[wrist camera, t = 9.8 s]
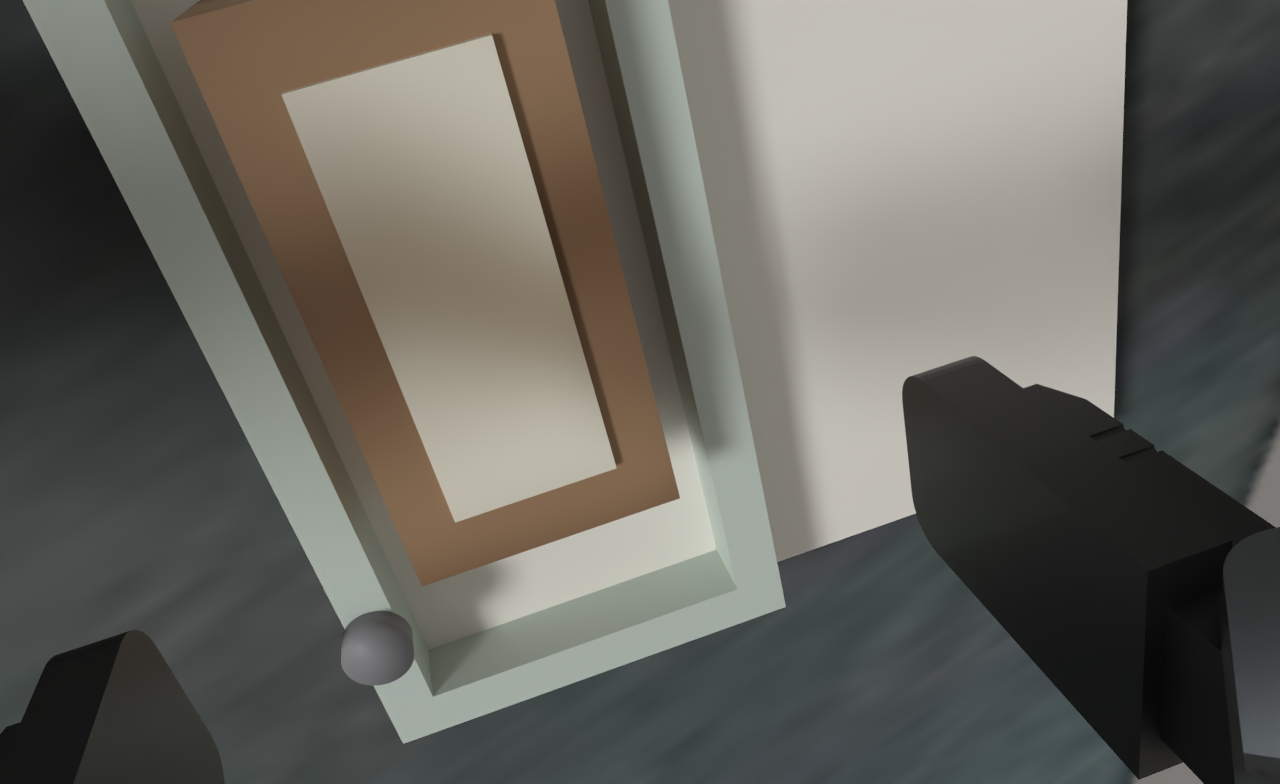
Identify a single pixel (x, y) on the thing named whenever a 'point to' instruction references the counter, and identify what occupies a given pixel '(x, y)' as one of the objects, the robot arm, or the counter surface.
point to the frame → (444, 258)
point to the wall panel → (681, 298)
